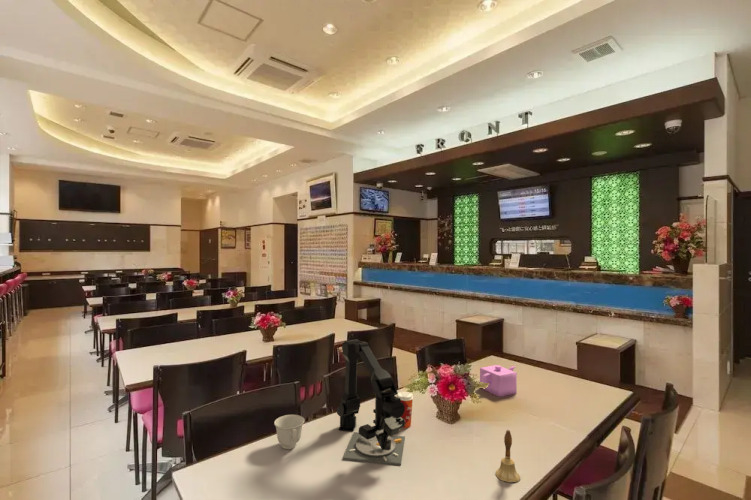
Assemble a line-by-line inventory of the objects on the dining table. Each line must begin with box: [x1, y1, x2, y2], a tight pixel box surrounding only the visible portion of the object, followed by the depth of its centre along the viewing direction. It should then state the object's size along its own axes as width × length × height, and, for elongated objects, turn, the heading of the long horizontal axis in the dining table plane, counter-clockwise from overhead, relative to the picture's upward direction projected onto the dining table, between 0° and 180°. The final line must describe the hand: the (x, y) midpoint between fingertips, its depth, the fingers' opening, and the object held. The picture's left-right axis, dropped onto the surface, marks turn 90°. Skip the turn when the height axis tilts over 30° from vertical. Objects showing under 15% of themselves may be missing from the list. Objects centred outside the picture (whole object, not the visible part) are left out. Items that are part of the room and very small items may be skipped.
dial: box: [356, 436, 396, 457], centre depth 151 cm, size 16×16×4 cm
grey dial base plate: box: [342, 431, 406, 466], centre depth 151 cm, size 22×20×2 cm
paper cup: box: [396, 391, 414, 429], centre depth 171 cm, size 8×8×14 cm
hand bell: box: [495, 429, 521, 483], centre depth 133 cm, size 8×8×16 cm
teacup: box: [273, 414, 305, 450], centre depth 151 cm, size 12×15×10 cm
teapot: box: [479, 364, 518, 398], centre depth 214 cm, size 15×25×14 cm, turn 117°
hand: (382, 448), depth 145 cm, fingers closed
